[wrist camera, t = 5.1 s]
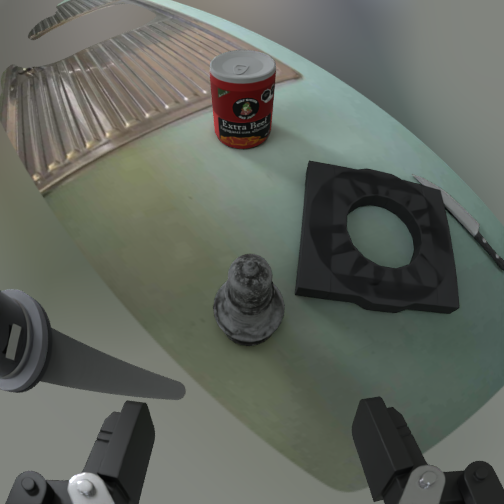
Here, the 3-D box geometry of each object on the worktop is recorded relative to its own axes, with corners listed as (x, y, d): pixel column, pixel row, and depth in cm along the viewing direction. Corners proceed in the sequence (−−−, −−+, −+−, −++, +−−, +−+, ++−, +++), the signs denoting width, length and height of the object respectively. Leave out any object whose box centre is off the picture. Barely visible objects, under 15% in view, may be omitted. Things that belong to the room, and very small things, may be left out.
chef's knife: (419, 168, 39) (410, 174, 38) (422, 162, 38) (413, 169, 37) (508, 262, 32) (503, 274, 31) (513, 258, 31) (508, 270, 30)
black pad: (294, 300, 30) (297, 293, 28) (306, 168, 37) (309, 157, 36) (450, 318, 28) (460, 313, 27) (433, 195, 36) (439, 186, 35)
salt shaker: (217, 349, 27) (198, 312, 17) (217, 289, 30) (201, 220, 19) (281, 347, 27) (306, 309, 17) (278, 287, 30) (295, 218, 19)
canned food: (215, 153, 38) (209, 81, 29) (213, 116, 42) (208, 51, 32) (275, 148, 39) (282, 77, 29) (266, 112, 42) (270, 48, 33)
